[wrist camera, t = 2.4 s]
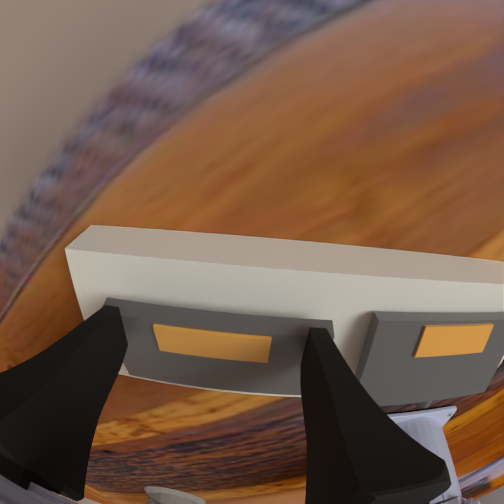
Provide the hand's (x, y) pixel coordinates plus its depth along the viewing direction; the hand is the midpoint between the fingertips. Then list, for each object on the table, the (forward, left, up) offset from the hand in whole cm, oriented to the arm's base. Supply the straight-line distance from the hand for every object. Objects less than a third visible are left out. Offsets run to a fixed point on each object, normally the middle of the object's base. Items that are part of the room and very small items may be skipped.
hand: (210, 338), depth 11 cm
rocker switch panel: (-4, -6, -4) cm, 8 cm away
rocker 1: (-2, 0, -1) cm, 2 cm away
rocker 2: (-2, -11, -1) cm, 11 cm away
